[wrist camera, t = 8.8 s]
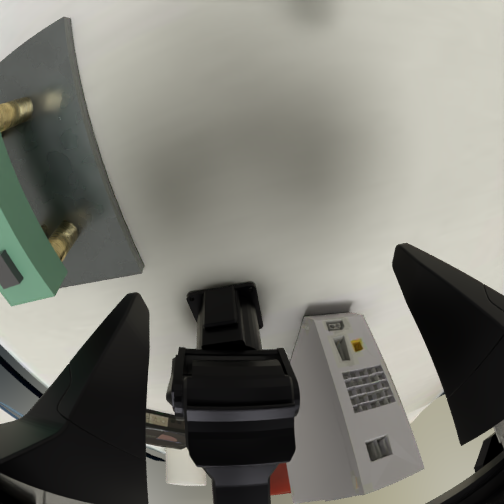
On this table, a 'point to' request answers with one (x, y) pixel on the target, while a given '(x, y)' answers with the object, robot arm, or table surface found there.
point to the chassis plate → (62, 159)
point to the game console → (346, 414)
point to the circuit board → (23, 244)
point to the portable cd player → (164, 430)
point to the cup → (183, 469)
